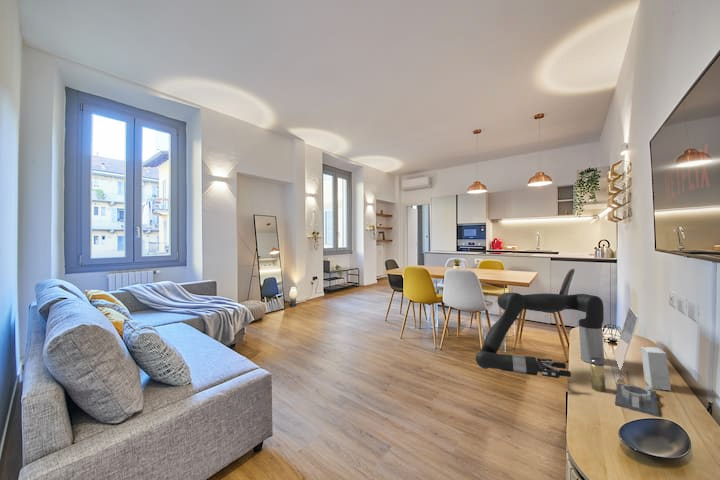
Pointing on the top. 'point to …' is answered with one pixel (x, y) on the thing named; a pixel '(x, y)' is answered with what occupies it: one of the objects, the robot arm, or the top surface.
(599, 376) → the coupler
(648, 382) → the skincare box
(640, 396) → the socket base
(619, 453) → the top surface
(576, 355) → the top surface
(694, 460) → the top surface
